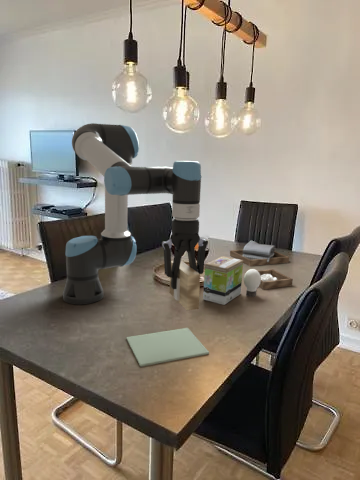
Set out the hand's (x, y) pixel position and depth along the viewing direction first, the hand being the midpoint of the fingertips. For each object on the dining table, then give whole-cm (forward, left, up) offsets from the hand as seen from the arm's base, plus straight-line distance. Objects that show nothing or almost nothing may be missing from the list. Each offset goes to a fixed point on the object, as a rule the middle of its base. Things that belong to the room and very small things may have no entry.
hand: (183, 298), depth 108 cm
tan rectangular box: (0, 0, -1) cm, 1 cm away
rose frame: (+57, +40, -14) cm, 71 cm away
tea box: (+29, +30, -15) cm, 44 cm away
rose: (+55, +38, -15) cm, 69 cm away
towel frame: (+74, +74, -14) cm, 106 cm away
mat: (-5, 0, -14) cm, 15 cm away
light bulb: (+41, +28, -14) cm, 52 cm away
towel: (+74, +74, -14) cm, 106 cm away
